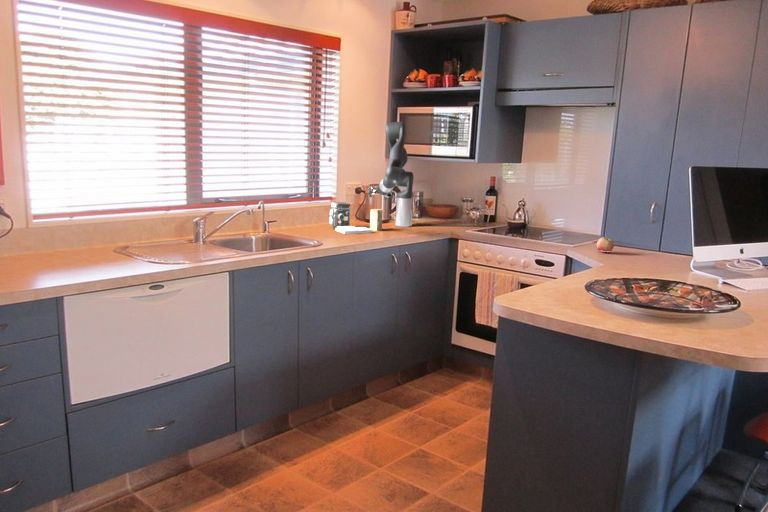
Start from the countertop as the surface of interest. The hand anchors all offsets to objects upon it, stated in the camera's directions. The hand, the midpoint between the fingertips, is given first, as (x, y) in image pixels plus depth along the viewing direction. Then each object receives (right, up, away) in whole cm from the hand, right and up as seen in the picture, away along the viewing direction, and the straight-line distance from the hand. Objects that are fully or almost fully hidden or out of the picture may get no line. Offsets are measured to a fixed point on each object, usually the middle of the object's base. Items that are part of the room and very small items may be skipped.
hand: (377, 196), depth 349 cm
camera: (-23, -18, +7) cm, 30 cm away
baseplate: (-13, -20, -2) cm, 24 cm away
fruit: (+117, -32, -34) cm, 126 cm away
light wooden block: (-1, -19, +7) cm, 20 cm away
